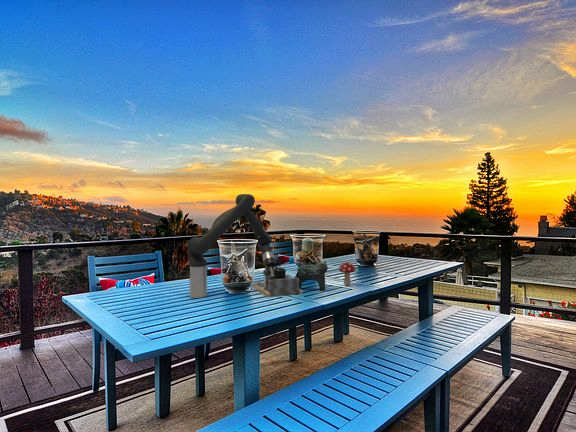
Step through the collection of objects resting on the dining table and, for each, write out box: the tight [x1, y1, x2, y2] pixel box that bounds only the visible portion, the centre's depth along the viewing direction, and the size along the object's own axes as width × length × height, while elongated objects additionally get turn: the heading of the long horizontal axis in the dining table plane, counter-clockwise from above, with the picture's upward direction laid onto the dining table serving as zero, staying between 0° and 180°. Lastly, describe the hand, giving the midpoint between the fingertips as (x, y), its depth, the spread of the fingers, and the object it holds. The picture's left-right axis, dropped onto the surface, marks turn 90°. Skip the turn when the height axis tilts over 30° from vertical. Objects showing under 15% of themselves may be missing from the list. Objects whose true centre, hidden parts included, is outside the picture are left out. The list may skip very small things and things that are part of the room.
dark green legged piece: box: [294, 257, 328, 292], centre depth 209 cm, size 20×6×20 cm, turn 84°
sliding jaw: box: [263, 273, 291, 292], centre depth 207 cm, size 16×3×9 cm, turn 113°
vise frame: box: [251, 277, 303, 298], centre depth 210 cm, size 22×31×9 cm
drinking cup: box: [273, 258, 287, 279], centre depth 203 cm, size 8×8×20 cm
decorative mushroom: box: [338, 262, 357, 287], centre depth 221 cm, size 11×11×15 cm
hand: (275, 283), depth 209 cm, fingers closed
